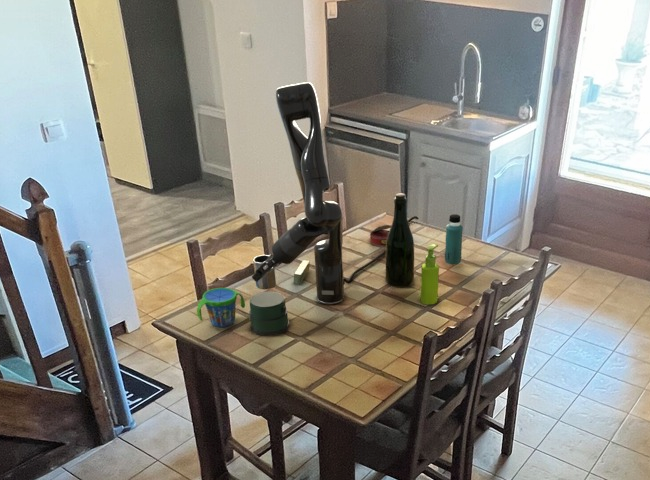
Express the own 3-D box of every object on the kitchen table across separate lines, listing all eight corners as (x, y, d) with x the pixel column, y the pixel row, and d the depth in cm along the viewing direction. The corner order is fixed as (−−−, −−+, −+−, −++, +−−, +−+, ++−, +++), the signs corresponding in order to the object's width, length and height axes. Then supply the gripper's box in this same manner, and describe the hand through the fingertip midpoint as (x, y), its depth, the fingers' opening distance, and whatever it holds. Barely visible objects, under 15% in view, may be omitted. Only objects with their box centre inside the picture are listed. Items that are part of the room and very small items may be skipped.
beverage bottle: (464, 263, 266) (467, 214, 255) (455, 269, 261) (458, 219, 250) (449, 259, 269) (452, 210, 258) (440, 265, 264) (443, 216, 253)
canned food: (373, 255, 282) (361, 235, 277) (378, 243, 289) (367, 223, 284) (397, 246, 277) (385, 225, 272) (401, 234, 285) (390, 213, 280)
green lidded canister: (263, 314, 228) (260, 287, 223) (296, 321, 225) (294, 294, 219) (242, 331, 219) (239, 303, 213) (276, 339, 215) (273, 311, 210)
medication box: (300, 285, 247) (300, 275, 245) (293, 283, 248) (293, 273, 245) (309, 270, 257) (309, 260, 255) (302, 268, 257) (302, 259, 255)
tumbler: (262, 279, 217) (259, 253, 212) (279, 282, 215) (276, 256, 210) (252, 287, 212) (249, 261, 207) (269, 291, 211) (266, 264, 206)
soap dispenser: (441, 297, 241) (443, 244, 231) (433, 306, 236) (435, 252, 225) (425, 294, 243) (427, 241, 233) (417, 302, 238) (419, 248, 227)
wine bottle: (397, 291, 245) (398, 201, 227) (379, 280, 251) (378, 193, 234) (419, 282, 251) (422, 195, 233) (401, 273, 257) (402, 187, 240)
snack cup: (240, 310, 230) (236, 282, 225) (252, 323, 223) (249, 295, 218) (194, 321, 223) (189, 293, 218) (205, 336, 216) (200, 307, 210)
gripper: (294, 226, 207) (264, 256, 217) (269, 244, 196) (238, 275, 206) (311, 246, 209) (280, 274, 219) (287, 264, 198) (256, 294, 207)
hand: (260, 274), depth 212 cm, fingers closed on tumbler, 6 cm apart
